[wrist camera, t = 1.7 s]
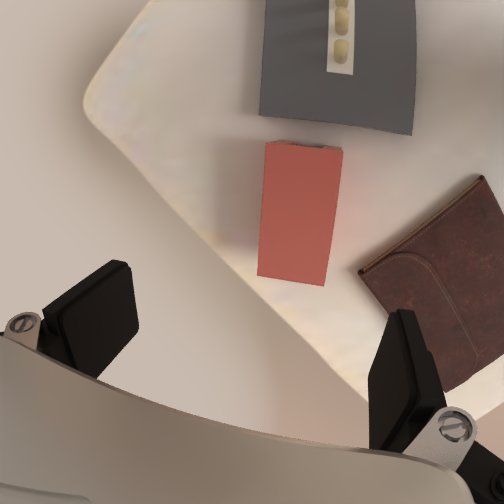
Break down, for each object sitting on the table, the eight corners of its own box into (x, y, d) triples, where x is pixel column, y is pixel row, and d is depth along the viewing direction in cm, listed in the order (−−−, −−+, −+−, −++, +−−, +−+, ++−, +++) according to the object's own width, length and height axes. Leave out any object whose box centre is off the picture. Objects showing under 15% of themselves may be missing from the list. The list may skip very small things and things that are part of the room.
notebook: (478, 173, 22) (488, 177, 20) (537, 315, 24) (544, 324, 23) (357, 268, 28) (358, 278, 27) (440, 383, 31) (443, 394, 29)
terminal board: (405, -42, 15) (417, -73, 10) (406, 135, 22) (425, 137, 17) (274, -55, 18) (259, -87, 12) (264, 116, 25) (245, 113, 19)
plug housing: (341, 147, 24) (343, 151, 19) (326, 258, 28) (323, 286, 23) (279, 140, 25) (266, 143, 21) (270, 249, 29) (257, 275, 24)
